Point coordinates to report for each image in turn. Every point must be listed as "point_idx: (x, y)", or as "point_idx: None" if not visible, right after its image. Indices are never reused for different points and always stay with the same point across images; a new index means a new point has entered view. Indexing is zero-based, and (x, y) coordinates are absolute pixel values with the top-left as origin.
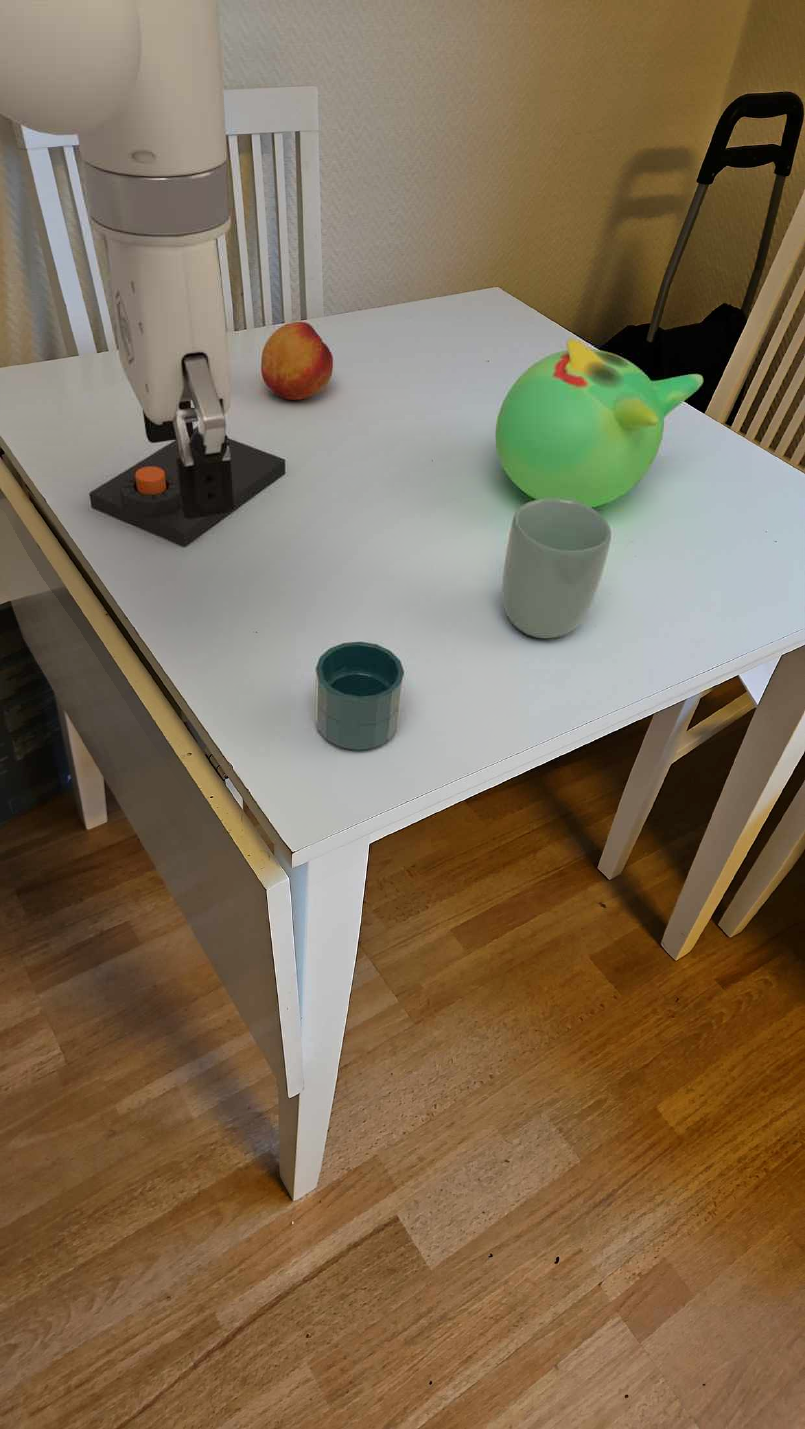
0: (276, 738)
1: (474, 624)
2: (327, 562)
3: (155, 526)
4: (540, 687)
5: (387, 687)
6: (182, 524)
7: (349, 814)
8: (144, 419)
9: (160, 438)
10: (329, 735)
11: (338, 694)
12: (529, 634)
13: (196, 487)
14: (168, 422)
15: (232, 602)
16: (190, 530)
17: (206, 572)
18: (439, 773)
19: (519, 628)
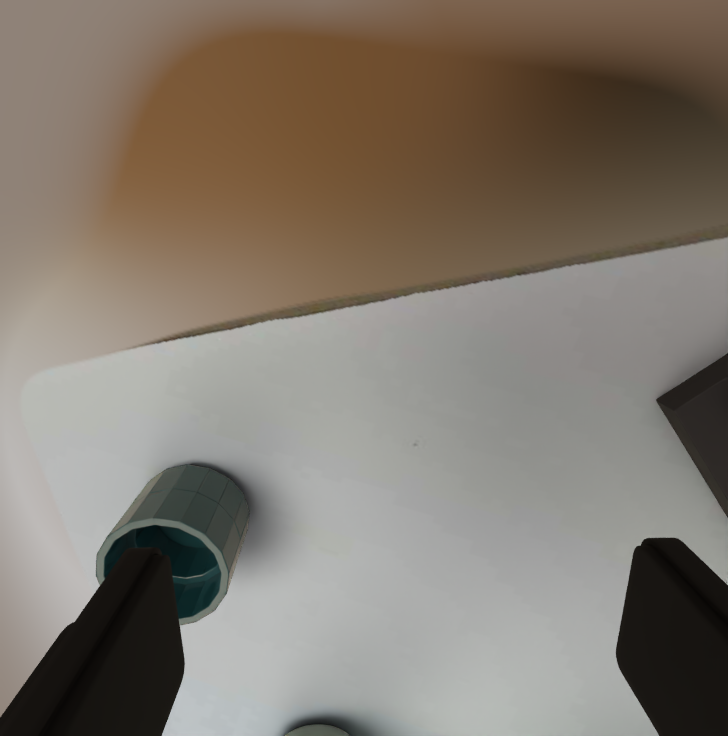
0: (196, 410)
1: (338, 684)
2: (529, 572)
3: (720, 371)
4: (208, 704)
5: (187, 577)
6: (696, 414)
7: (47, 453)
8: (722, 592)
9: (638, 578)
10: (158, 477)
11: (114, 533)
12: (287, 733)
13: (10, 703)
14: (667, 656)
15: (493, 431)
16: (678, 421)
17: (579, 414)
18: (94, 564)
19: (297, 730)
